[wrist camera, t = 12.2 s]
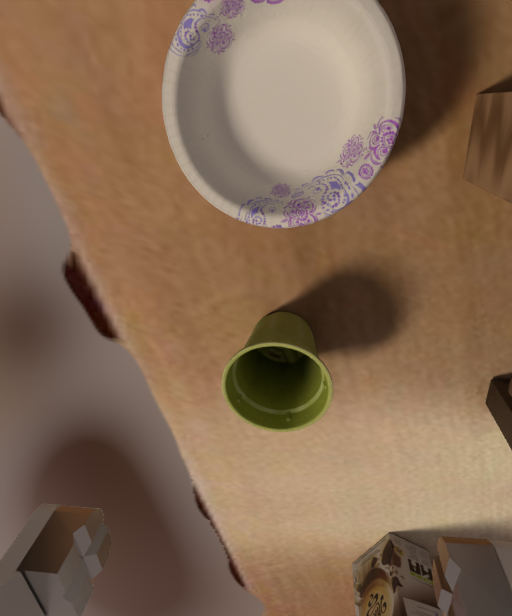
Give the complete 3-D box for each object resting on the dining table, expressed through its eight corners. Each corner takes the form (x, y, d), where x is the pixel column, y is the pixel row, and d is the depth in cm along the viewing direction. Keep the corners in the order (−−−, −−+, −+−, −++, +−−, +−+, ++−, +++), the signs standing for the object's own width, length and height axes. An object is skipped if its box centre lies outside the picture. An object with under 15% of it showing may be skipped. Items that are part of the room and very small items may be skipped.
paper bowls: (277, -70, 27) (263, -132, 20) (430, 94, 30) (465, 91, 23) (157, 121, 33) (114, 126, 26) (292, 240, 36) (287, 273, 29)
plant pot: (345, 315, 39) (352, 367, 31) (308, 385, 43) (306, 446, 36) (255, 282, 39) (240, 326, 31) (227, 356, 43) (208, 411, 35)
